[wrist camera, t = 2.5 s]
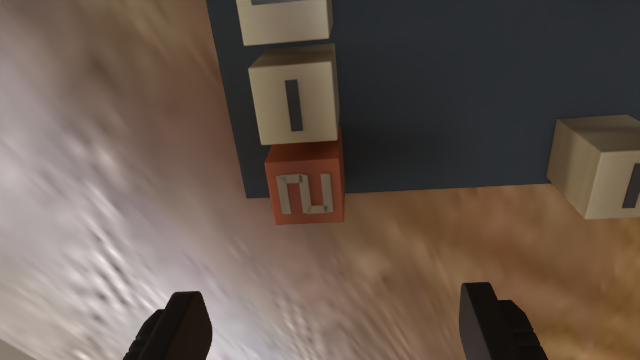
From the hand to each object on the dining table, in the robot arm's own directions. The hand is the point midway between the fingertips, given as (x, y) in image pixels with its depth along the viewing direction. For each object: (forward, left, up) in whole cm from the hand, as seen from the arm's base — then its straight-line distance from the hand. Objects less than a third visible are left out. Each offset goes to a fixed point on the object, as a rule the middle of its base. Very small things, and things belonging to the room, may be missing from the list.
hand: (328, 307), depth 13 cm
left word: (-2, +6, -15) cm, 16 cm away
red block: (-2, -2, -15) cm, 15 cm away
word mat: (+7, +3, -15) cm, 17 cm away
